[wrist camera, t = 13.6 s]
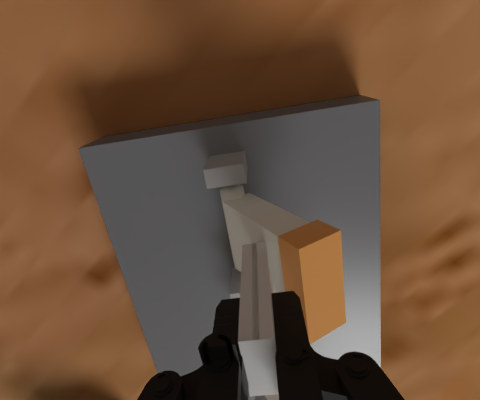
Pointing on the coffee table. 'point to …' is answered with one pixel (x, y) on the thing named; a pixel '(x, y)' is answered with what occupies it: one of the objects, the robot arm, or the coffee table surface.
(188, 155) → the breaker panel
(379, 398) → the robot arm
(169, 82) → the coffee table surface
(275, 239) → the breaker
